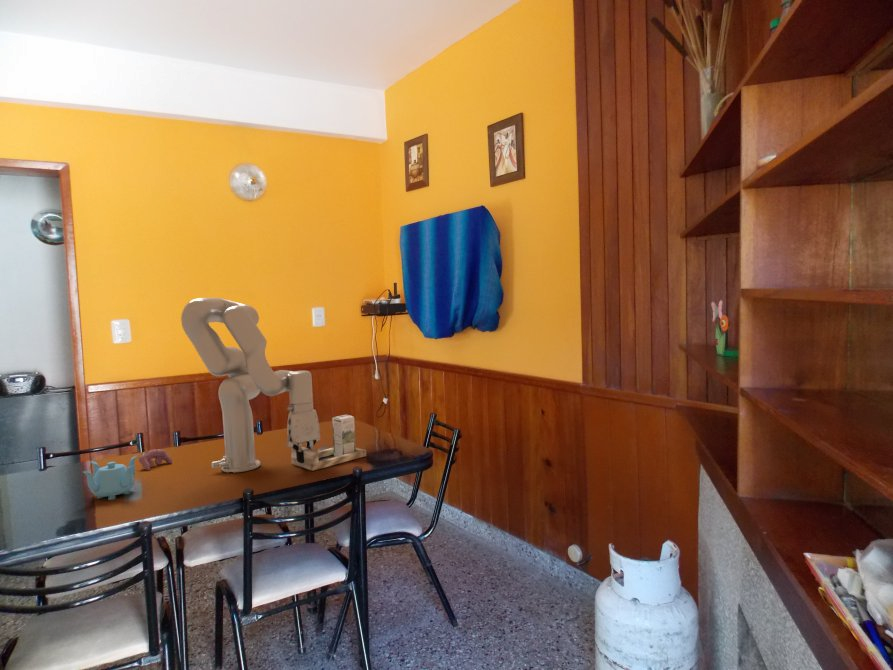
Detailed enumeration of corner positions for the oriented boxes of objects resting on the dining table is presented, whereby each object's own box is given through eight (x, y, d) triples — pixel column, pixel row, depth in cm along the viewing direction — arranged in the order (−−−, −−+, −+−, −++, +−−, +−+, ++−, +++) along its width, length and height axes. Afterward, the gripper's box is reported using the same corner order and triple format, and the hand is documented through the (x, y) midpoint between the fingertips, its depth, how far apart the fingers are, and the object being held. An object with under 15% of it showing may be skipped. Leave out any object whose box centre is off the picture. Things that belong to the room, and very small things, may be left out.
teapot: (94, 492, 176) (91, 460, 175) (142, 485, 181) (139, 454, 180) (84, 505, 164) (81, 471, 163) (136, 498, 169) (133, 464, 168)
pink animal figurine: (167, 466, 207) (160, 448, 208) (174, 462, 205) (167, 444, 206) (141, 474, 199) (134, 455, 200) (148, 469, 196) (141, 451, 198)
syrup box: (346, 453, 209) (344, 414, 208) (356, 455, 205) (354, 415, 204) (333, 456, 205) (331, 416, 204) (343, 459, 201) (341, 418, 200)
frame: (312, 470, 188) (311, 452, 187) (291, 463, 197) (290, 446, 197) (366, 455, 203) (365, 439, 203) (344, 450, 213) (343, 434, 212)
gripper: (286, 412, 184) (289, 469, 185) (328, 404, 195) (331, 457, 196) (274, 410, 189) (277, 465, 190) (316, 402, 200) (319, 454, 202)
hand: (304, 460), depth 193 cm, fingers closed on frame, 2 cm apart
